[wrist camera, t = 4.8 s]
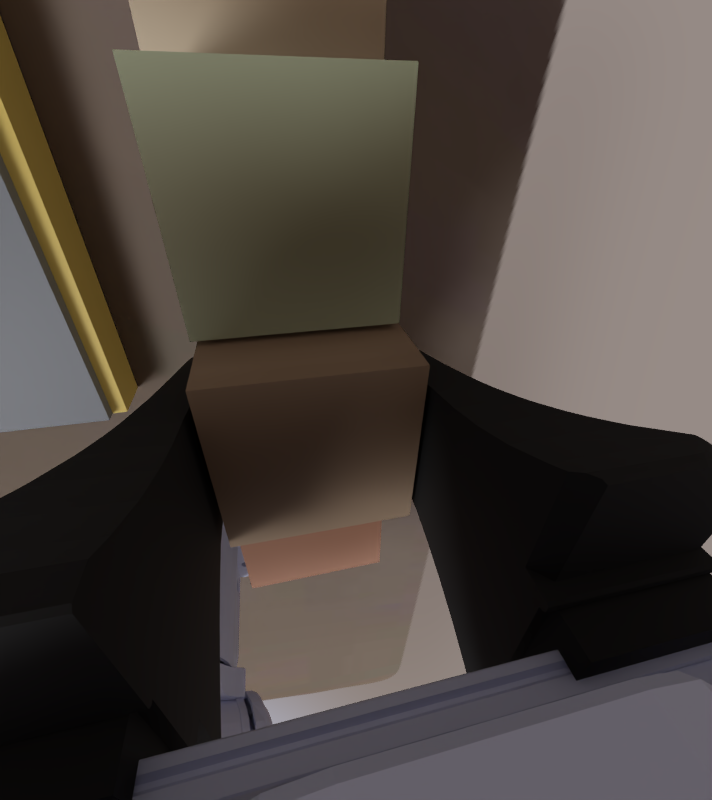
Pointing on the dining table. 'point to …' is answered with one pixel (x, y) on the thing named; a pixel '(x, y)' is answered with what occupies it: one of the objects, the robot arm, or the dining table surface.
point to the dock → (48, 285)
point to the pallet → (301, 351)
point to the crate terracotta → (312, 554)
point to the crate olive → (276, 185)
